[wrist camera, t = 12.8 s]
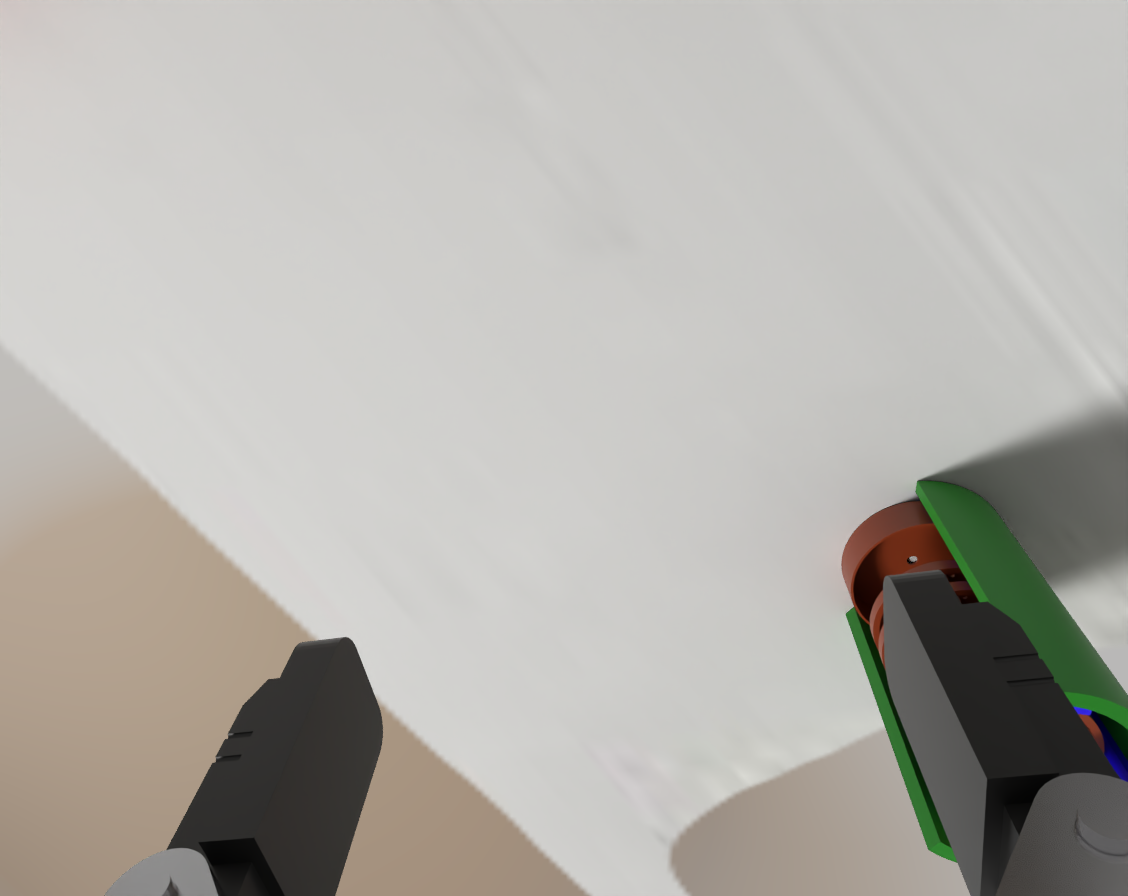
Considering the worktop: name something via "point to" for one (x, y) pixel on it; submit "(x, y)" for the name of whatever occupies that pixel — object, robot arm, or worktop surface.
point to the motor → (977, 574)
